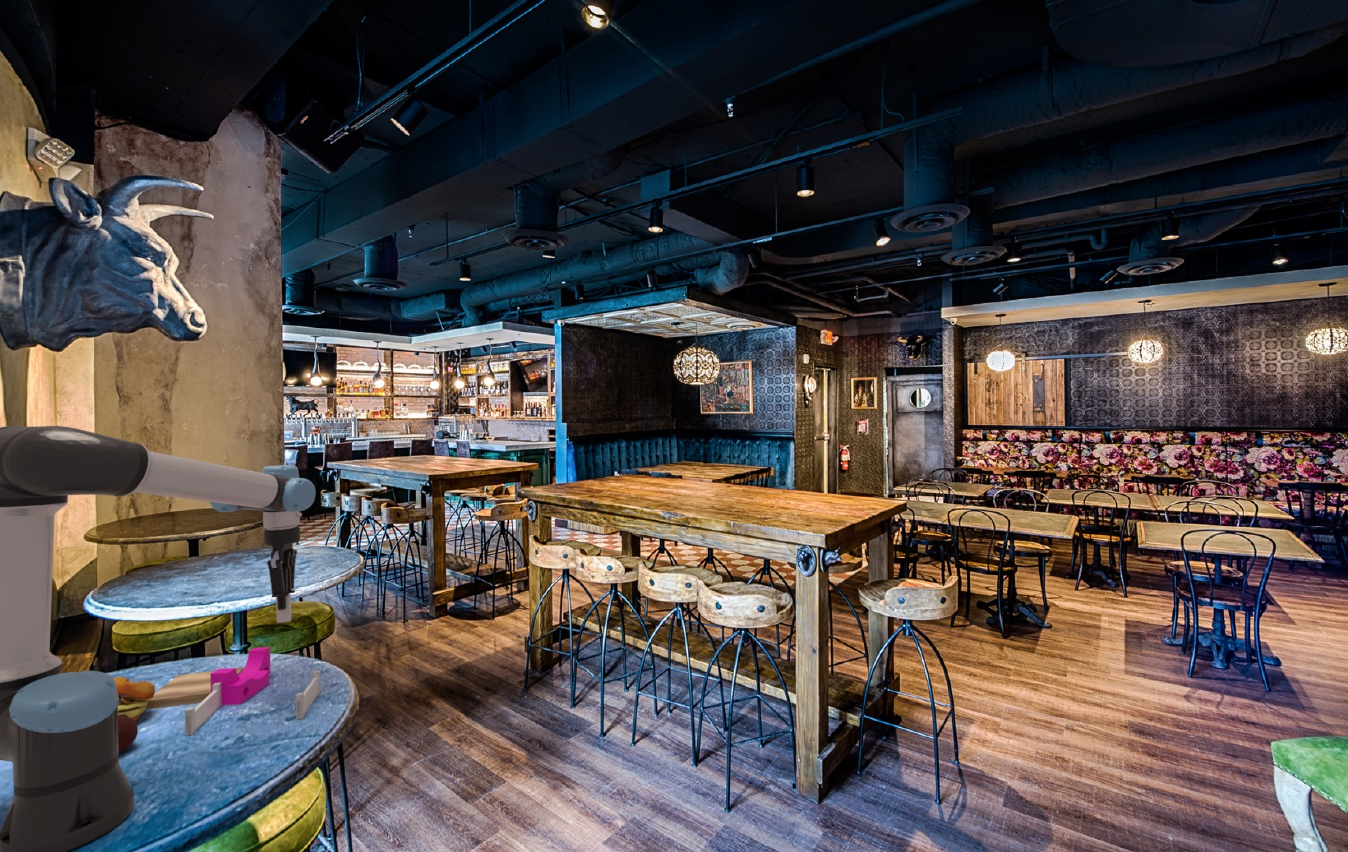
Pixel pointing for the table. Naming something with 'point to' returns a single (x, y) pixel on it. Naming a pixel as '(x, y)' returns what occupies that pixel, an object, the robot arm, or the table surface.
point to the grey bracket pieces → (214, 701)
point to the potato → (126, 732)
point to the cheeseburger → (133, 696)
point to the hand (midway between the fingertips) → (284, 621)
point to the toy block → (244, 677)
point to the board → (184, 690)
